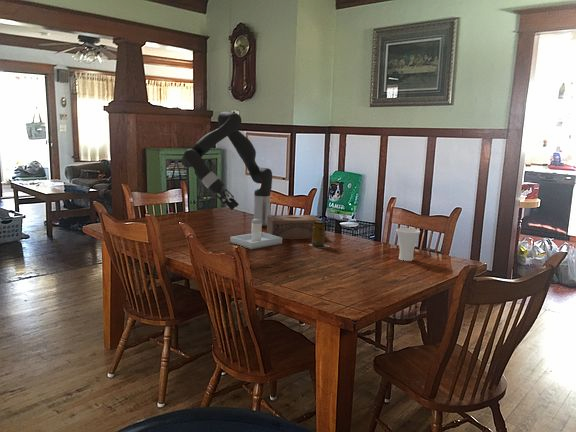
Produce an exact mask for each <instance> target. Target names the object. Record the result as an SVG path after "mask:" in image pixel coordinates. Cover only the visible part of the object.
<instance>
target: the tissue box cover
mask: <svg viewBox="0 0 576 432" xmlns="http://www.w3.org/2000/svg"><path fill="white" fill-rule="evenodd" d="M315 221H322V220H321V219H320V218H318V217H316V216H315V215H313V214H292V215H291V214H290V215H289V214H284V215H283V214H281V215H280V214H279V215H275V214H271V215H267V225H266V233H267V234H271V235H275V236H278V237H282V240H287V239H288V240H292V239H293V240H294V239H295V240H296V239H297V240H299V239H301V240H302V239H312V236H313V227H314V222H315Z"/></svg>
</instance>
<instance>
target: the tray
mask: <svg viewBox="0 0 576 432" xmlns="http://www.w3.org/2000/svg"><path fill="white" fill-rule="evenodd" d="M230 244H233V245H236V244H237V245H236V246H239V245H240V246H241V247H242V246H243V248H246V249H249V250H254V249H260V248H265V247H269V246H270V247H272V246H276V245H281V244H283V239H282V237H278V236H275V235H271V234H267V232H264V231H262V232H261V241H257V242H251V233H246V234H240V235H239V234H238V235H235V236H234V235H233V236H230ZM240 246H239V247H240Z"/></svg>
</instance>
